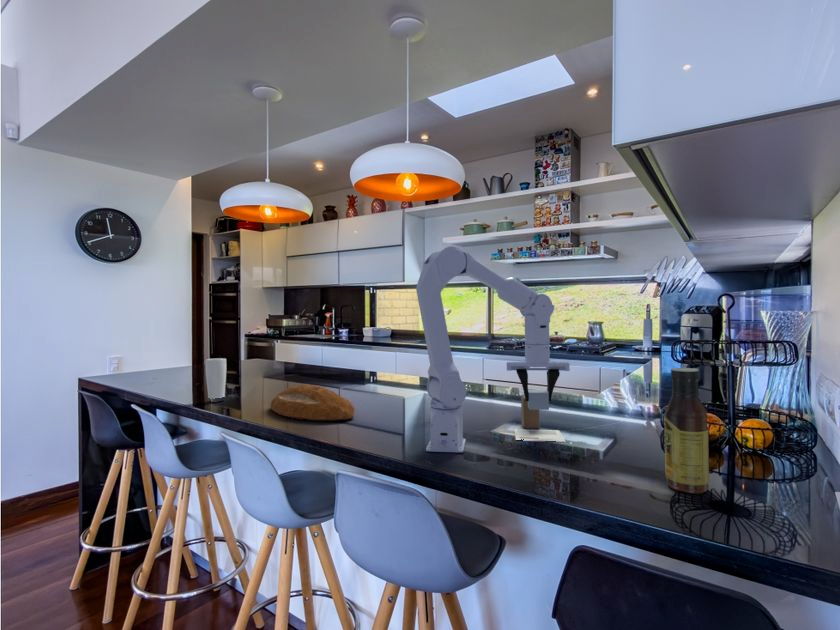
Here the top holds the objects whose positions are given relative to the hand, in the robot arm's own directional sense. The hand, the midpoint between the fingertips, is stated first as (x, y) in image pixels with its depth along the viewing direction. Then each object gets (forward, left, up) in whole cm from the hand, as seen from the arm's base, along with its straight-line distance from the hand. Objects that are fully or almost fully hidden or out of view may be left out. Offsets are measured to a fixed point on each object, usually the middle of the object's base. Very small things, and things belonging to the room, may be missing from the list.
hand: (537, 400), depth 108 cm
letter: (0, 0, -8) cm, 8 cm away
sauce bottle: (-30, -21, -9) cm, 38 cm away
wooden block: (+8, +1, -9) cm, 12 cm away
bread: (+19, +66, -9) cm, 69 cm away
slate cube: (0, 0, -2) cm, 2 cm away
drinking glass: (+34, +107, -9) cm, 113 cm away
